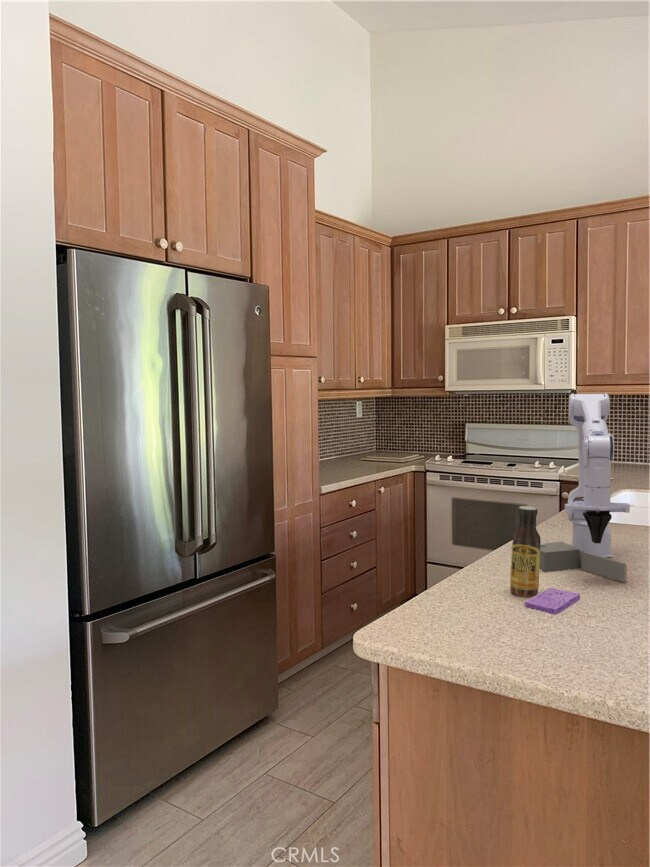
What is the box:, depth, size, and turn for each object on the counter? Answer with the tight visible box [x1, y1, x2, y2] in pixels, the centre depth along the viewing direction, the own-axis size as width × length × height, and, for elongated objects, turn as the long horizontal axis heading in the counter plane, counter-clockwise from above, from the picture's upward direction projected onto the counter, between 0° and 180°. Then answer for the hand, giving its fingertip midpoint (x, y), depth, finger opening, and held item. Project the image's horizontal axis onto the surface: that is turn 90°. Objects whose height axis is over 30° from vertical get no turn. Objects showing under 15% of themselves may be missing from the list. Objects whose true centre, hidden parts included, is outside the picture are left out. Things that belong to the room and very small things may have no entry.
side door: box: [579, 551, 628, 583], centre depth 161 cm, size 14×1×4 cm, turn 27°
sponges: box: [524, 586, 581, 615], centre depth 143 cm, size 7×13×2 cm, turn 136°
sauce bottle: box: [509, 505, 541, 598], centre depth 148 cm, size 7×6×20 cm
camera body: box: [539, 541, 580, 573], centre depth 170 cm, size 11×8×6 cm
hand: (596, 542), depth 156 cm, fingers closed
